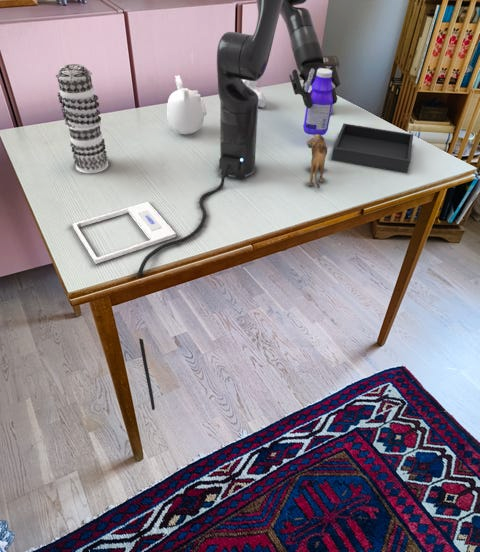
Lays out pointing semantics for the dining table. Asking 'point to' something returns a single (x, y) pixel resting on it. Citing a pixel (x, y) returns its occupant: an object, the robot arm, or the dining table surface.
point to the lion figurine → (317, 157)
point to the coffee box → (329, 62)
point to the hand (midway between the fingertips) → (322, 105)
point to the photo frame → (147, 222)
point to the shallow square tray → (373, 147)
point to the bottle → (319, 104)
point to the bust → (260, 95)
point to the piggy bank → (185, 109)
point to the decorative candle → (82, 118)
